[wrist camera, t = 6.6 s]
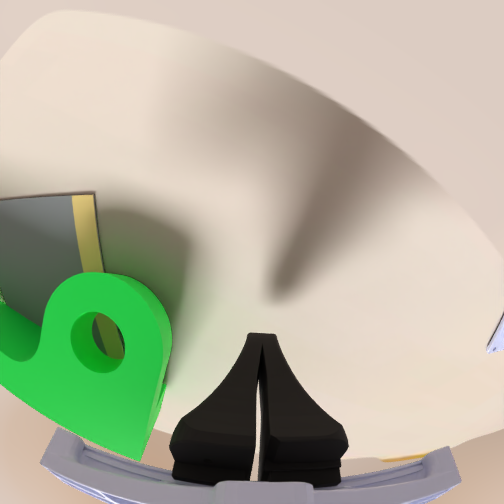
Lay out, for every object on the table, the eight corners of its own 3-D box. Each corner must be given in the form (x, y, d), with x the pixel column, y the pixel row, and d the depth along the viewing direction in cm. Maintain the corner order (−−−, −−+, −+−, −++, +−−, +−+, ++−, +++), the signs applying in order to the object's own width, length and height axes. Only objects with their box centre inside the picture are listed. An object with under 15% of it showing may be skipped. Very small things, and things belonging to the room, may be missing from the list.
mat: (94, 194, 13) (92, 194, 13) (133, 377, 18) (132, 378, 18) (-19, 202, 13) (-20, 202, 13) (24, 343, 19) (23, 344, 18)
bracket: (193, 293, 19) (181, 301, 12) (160, 410, 18) (140, 462, 11) (3, 216, 17) (-47, 197, 10) (-17, 313, 16) (-66, 318, 9)
